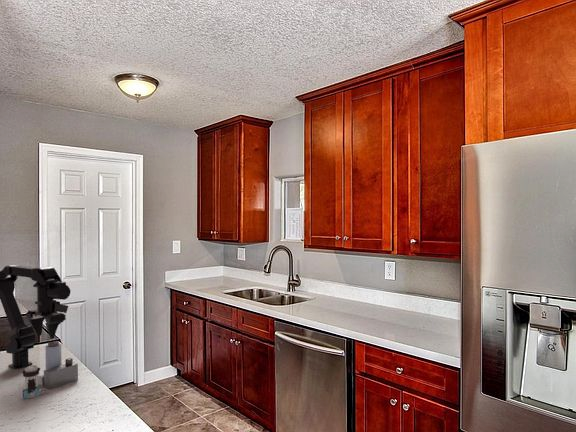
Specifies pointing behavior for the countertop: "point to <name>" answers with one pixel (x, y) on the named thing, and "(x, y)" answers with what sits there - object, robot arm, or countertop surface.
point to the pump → (53, 355)
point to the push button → (31, 382)
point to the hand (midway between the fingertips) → (45, 337)
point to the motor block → (59, 375)
